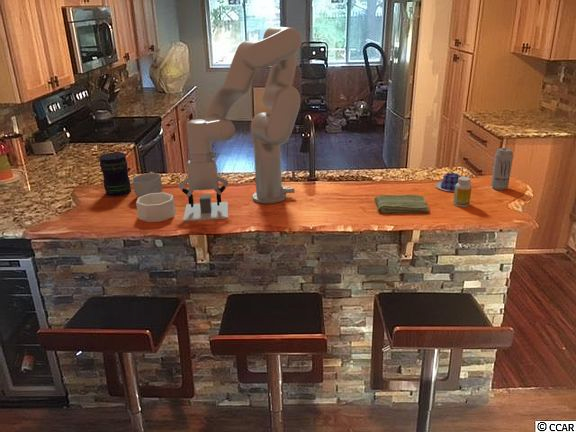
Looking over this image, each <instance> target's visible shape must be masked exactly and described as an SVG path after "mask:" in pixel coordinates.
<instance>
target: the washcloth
mask: <svg viewBox="0 0 576 432" xmlns="http://www.w3.org/2000/svg"><path fill="white" fill-rule="evenodd" d="M374 202H375V205H376V207H377V212H378V213H379V214H415V213H419V214H427V213H429V212H430V209H429V205H428V203H427V201H426V200H425V196H422V195H419V194H418V195H416V194H399V195H395V194H394V195H393V194H382V195H381V194H380V195H377V196H375V197H374Z"/></svg>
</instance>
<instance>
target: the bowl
mask: <svg viewBox="0 0 576 432" xmlns="http://www.w3.org/2000/svg"><path fill="white" fill-rule="evenodd" d="M135 204H136V211H137V218H138V220H140V221H143V222H146V223H155V222H164V221H166V220H169V219H172V218H173V217H174V218H175V214H176V204H175V198H174V194H171V193H168V192H161V193H150V194H147V195H144V196H141V197H138V196H137V200H136V201H135Z"/></svg>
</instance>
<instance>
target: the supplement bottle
mask: <svg viewBox="0 0 576 432" xmlns="http://www.w3.org/2000/svg"><path fill="white" fill-rule="evenodd" d="M471 194H472V184H471V178H470V177H468V176H461V177H459V178H458V183H457V184H456V185H455V192H454V194H453V200H452V201H453V205H455V206H457V207H461V208H466V207H468V206H470V203H471V202H470V201H471Z"/></svg>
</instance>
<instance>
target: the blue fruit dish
mask: <svg viewBox="0 0 576 432" xmlns="http://www.w3.org/2000/svg"><path fill="white" fill-rule="evenodd" d="M459 177H462V175H460V174H458V173H455V172H449V173H445V174H444V175H443V178H442V180H441V181H437V182H436V183H435V185H434V186H435V188H437V189H440V190H441V191H445V192H454V193H455V185H456V184H457V183H458V178H459Z"/></svg>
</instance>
